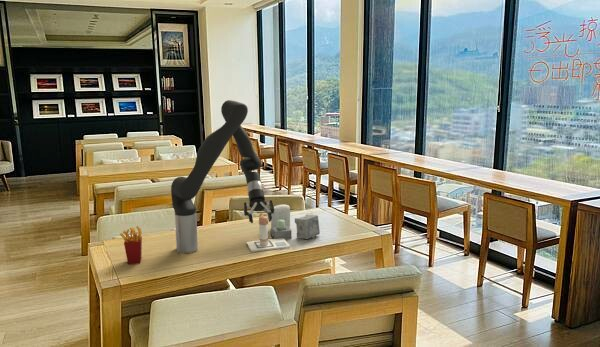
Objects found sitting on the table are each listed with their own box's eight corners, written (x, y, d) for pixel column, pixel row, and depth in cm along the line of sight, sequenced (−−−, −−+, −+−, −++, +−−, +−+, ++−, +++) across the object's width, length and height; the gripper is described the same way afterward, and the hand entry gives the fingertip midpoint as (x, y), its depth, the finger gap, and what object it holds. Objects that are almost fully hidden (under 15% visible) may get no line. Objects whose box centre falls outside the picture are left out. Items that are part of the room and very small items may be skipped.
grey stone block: (307, 232, 235) (307, 212, 233) (320, 236, 230) (320, 215, 227) (294, 237, 228) (294, 216, 226) (306, 241, 223) (306, 220, 220)
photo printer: (287, 225, 246) (286, 202, 243) (291, 227, 242) (291, 204, 240) (269, 228, 240) (269, 205, 237) (274, 231, 237) (273, 207, 234)
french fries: (142, 264, 196) (139, 230, 193) (121, 265, 195) (118, 231, 191) (144, 256, 205) (142, 223, 202) (124, 257, 203) (121, 224, 200)
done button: (278, 234, 227) (278, 222, 225) (276, 231, 230) (276, 220, 228) (285, 233, 228) (285, 221, 226) (283, 231, 231) (283, 219, 229)
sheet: (251, 252, 209) (251, 250, 209) (246, 243, 220) (246, 241, 219) (290, 247, 215) (290, 245, 214) (283, 239, 225) (283, 237, 225)
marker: (260, 246, 214) (260, 218, 211) (258, 243, 218) (258, 216, 215) (269, 245, 215) (268, 218, 212) (267, 242, 219) (266, 215, 216)
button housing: (275, 240, 224) (275, 232, 223) (271, 234, 232) (271, 226, 231) (291, 238, 227) (291, 230, 226) (286, 232, 234) (286, 225, 233)
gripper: (241, 189, 223) (246, 219, 215) (271, 187, 227) (277, 216, 219) (240, 197, 229) (245, 226, 221) (268, 194, 233) (274, 224, 225)
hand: (261, 221), depth 220 cm, fingers open, 8 cm apart
